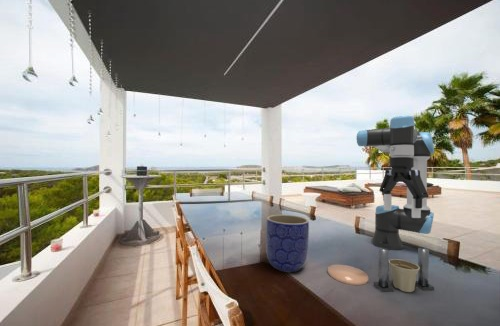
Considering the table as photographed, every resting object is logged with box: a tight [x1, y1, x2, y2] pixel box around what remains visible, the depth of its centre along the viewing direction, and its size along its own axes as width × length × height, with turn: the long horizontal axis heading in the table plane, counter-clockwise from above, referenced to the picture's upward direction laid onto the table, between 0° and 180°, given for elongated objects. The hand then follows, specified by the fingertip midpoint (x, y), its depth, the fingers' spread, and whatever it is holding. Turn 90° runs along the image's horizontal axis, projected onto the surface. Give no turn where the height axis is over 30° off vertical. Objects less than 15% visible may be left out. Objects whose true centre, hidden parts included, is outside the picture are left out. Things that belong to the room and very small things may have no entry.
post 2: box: [415, 246, 435, 292], centre depth 81 cm, size 4×4×14 cm
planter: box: [265, 214, 310, 273], centre depth 95 cm, size 18×18×21 cm
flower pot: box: [389, 258, 420, 293], centre depth 80 cm, size 9×9×9 cm
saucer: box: [327, 264, 369, 286], centre depth 88 cm, size 15×15×1 cm
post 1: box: [373, 247, 394, 293], centre depth 79 cm, size 4×4×14 cm
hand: (400, 213), depth 81 cm, fingers open, 13 cm apart
